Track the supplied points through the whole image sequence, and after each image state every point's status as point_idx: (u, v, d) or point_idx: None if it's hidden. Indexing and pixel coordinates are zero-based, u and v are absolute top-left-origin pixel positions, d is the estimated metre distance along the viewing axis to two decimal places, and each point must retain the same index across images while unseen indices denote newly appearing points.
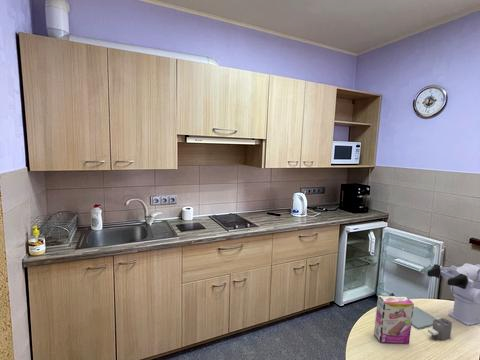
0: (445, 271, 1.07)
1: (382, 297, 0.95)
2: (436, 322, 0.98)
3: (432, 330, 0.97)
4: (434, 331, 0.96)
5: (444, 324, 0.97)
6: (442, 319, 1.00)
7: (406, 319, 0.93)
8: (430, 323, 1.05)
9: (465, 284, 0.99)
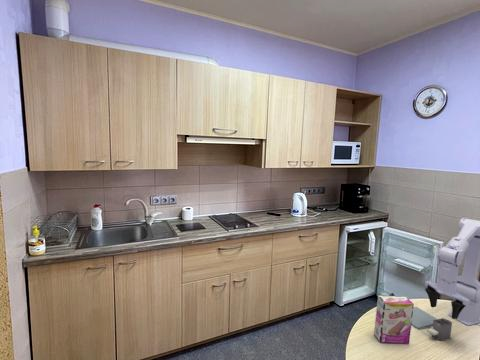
0: None
1: (382, 297, 0.95)
2: (436, 322, 0.98)
3: (432, 330, 0.97)
4: (434, 331, 0.96)
5: (444, 324, 0.97)
6: (442, 319, 1.00)
7: (406, 319, 0.93)
8: (430, 323, 1.05)
9: (464, 304, 0.92)
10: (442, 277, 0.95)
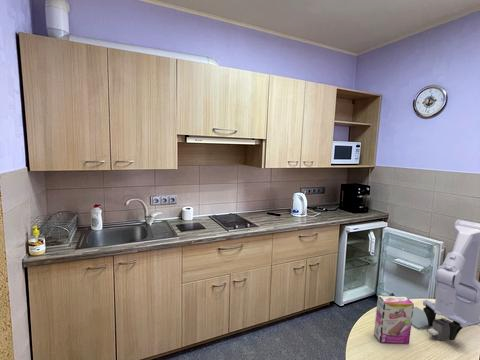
0: None
1: (382, 297, 0.95)
2: (436, 322, 0.98)
3: (432, 330, 0.97)
4: (434, 331, 0.96)
5: (444, 324, 0.97)
6: (442, 319, 1.00)
7: (406, 319, 0.93)
8: None
9: None
10: (440, 298, 0.96)
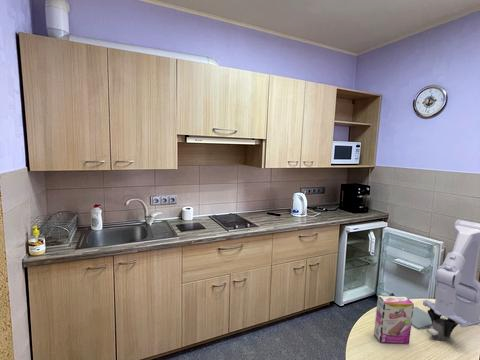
0: None
1: (382, 297, 0.95)
2: (436, 322, 0.98)
3: (432, 330, 0.97)
4: (434, 331, 0.96)
5: None
6: (442, 319, 1.00)
7: (406, 319, 0.93)
8: (430, 323, 1.05)
9: None
10: (440, 298, 0.96)
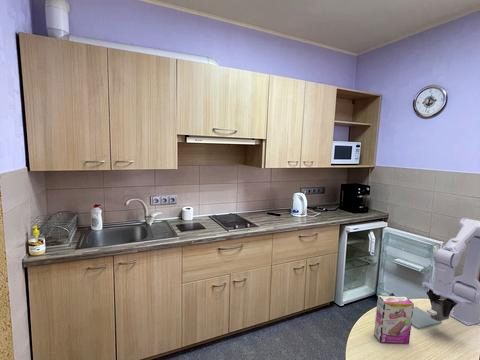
0: None
1: (382, 297, 0.95)
2: (435, 303, 0.98)
3: (431, 310, 0.97)
4: (433, 311, 0.97)
5: None
6: (441, 300, 1.00)
7: (406, 319, 0.93)
8: (430, 323, 1.05)
9: (455, 303, 0.95)
10: (438, 278, 0.97)
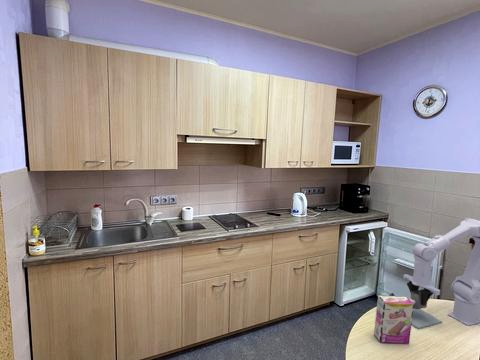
0: None
1: (382, 297, 0.95)
2: (414, 293, 1.08)
3: (410, 300, 1.07)
4: (412, 300, 1.07)
5: None
6: (419, 290, 1.10)
7: (406, 319, 0.93)
8: (430, 323, 1.05)
9: (431, 292, 1.05)
10: (414, 269, 1.08)
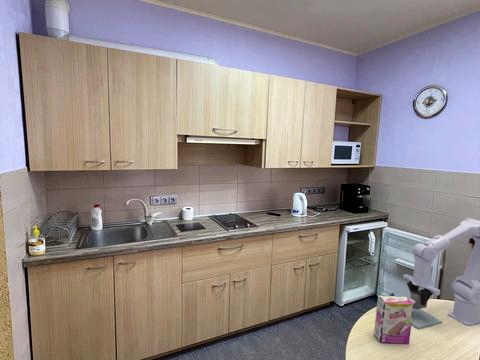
0: None
1: (382, 297, 0.95)
2: (414, 293, 1.08)
3: (410, 300, 1.07)
4: (412, 300, 1.07)
5: None
6: (419, 290, 1.10)
7: (406, 319, 0.93)
8: (430, 323, 1.05)
9: (431, 292, 1.05)
10: (414, 269, 1.08)
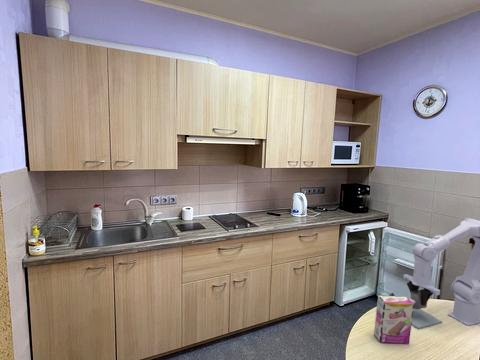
0: None
1: (382, 297, 0.95)
2: (414, 293, 1.08)
3: (410, 300, 1.07)
4: (412, 300, 1.07)
5: None
6: (419, 290, 1.10)
7: (406, 319, 0.93)
8: (430, 323, 1.05)
9: (431, 292, 1.05)
10: (414, 269, 1.08)
